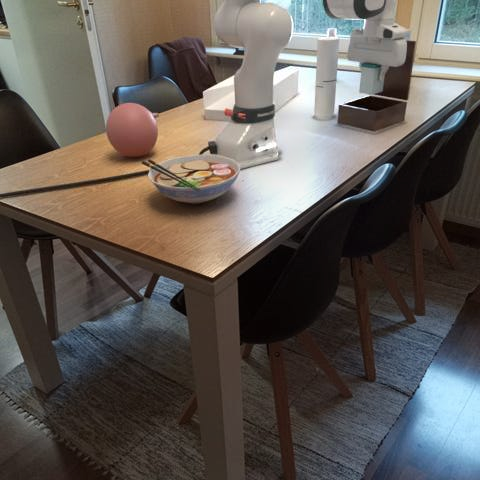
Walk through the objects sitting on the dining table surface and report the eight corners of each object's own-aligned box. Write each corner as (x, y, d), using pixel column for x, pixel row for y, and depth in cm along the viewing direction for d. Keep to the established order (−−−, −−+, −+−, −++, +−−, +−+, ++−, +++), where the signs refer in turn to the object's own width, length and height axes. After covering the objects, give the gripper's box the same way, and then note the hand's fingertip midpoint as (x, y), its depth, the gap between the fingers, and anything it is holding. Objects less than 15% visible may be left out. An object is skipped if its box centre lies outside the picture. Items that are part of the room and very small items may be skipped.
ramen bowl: (262, 200, 120) (262, 168, 115) (182, 228, 110) (178, 194, 105) (208, 173, 137) (206, 144, 132) (135, 195, 127) (129, 164, 122)
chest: (374, 134, 158) (377, 112, 154) (337, 125, 168) (338, 104, 164) (404, 122, 167) (407, 101, 163) (366, 115, 176) (369, 95, 172)
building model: (249, 91, 215) (249, 67, 209) (297, 93, 207) (298, 68, 201) (205, 119, 182) (202, 91, 176) (260, 122, 175) (259, 94, 169)
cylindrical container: (333, 120, 173) (338, 40, 158) (313, 119, 175) (316, 40, 159) (334, 114, 179) (339, 36, 164) (314, 114, 180) (318, 37, 165)
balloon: (181, 148, 156) (175, 97, 147) (135, 167, 144) (126, 113, 134) (147, 141, 164) (139, 92, 154) (101, 159, 151) (90, 106, 142)
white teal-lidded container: (371, 95, 157) (375, 65, 152) (358, 92, 160) (361, 63, 155) (383, 91, 160) (387, 62, 155) (370, 89, 163) (373, 61, 158)
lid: (414, 41, 151) (423, 38, 153) (373, 37, 161) (381, 35, 163) (406, 100, 162) (414, 97, 164) (368, 93, 172) (376, 90, 174)
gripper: (344, 28, 154) (341, 76, 162) (400, 33, 142) (393, 84, 150) (357, 26, 157) (353, 73, 166) (412, 30, 145) (404, 81, 153)
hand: (372, 79), depth 158 cm, fingers closed on white teal-lidded container, 5 cm apart
